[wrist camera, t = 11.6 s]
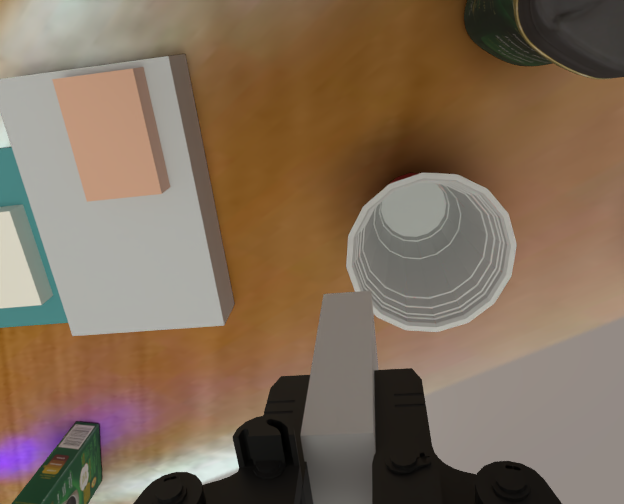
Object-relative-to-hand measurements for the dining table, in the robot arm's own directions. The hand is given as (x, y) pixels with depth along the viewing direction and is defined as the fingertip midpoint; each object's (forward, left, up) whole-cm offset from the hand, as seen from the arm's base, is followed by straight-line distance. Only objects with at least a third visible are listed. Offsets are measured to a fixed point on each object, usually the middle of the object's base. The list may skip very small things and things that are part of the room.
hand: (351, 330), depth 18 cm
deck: (+2, -20, -29) cm, 35 cm away
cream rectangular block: (+6, -33, -27) cm, 43 cm away
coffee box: (+29, -32, -30) cm, 52 cm away
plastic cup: (+5, +4, -30) cm, 30 cm away
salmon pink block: (-4, -18, -25) cm, 31 cm away
